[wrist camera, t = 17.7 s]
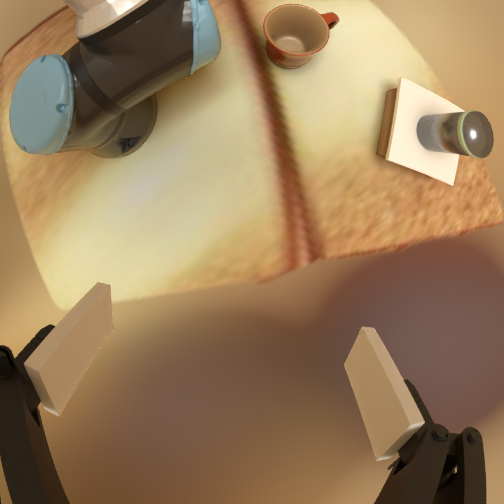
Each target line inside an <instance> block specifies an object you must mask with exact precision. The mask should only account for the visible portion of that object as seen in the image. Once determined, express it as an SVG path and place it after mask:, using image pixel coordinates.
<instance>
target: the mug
mask: <svg viewBox="0 0 504 504" xmlns="http://www.w3.org/2000/svg"><path fill="white" fill-rule="evenodd" d="M338 22H339V17H338V16H337V15H336V14H335V13H333V12H330V13H326V14H319V13H318V12H317V11H315V10H314V9H312V8H309V7H307V6H303V5H299V4H286V5H281V6H278V7H276V8H274V9H273V10H271V11H270V12H269V13H268V15H267V16H266V18H265V20H264V25H263V28H264V33H265V35H266V37H267V41H266V50H267V54H268V56H269V57H270V59H271V60H272V61H273V62H274V63H275V64H277V65H279V66H281V67H284V68H297V67H300V66H302V65H304V64H305V63H307V62H308V61H309V60H310V59H311V57H312V55H313V54H314V53H316V52H318V51H320V50H321V49H322V48H323V47H324V46H325V45H326V43H327V42H328V39H329V30H330V29H332V28H333V27H334V26H335V25H336V24H337V23H338Z"/></svg>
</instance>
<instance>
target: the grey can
mask: <svg viewBox="0 0 504 504" xmlns="http://www.w3.org/2000/svg"><path fill="white" fill-rule="evenodd" d="M416 132H417V137H418V140H419V142H420V144H421V145H422V146H423V147H424V148H425V149H426V150H428V151H432V152H442V153H451V154H459V155H466V156H471V157H475V158H484V157H486V156H488V155H489V154H490V152H491V150H492V147H493V131H492V128H491V125H490V123H489V121H488V119H487V118H486V117H485V115H483V114H482V113H481V112H478V111H465V112H454V113H442V114H432V115H425V116H423V117H421V118H420V119H419V121H418V123H417V128H416Z"/></svg>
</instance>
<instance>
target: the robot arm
mask: <svg viewBox="0 0 504 504" xmlns="http://www.w3.org/2000/svg"><path fill="white" fill-rule="evenodd" d="M63 1H64V2H65V3H66V4H67V5H68V6H69V7H70V8H71V9H72V10H73V11H74V12H75V13H76V15H77V19H76V24H75V29H74V35H75V36H76V37H77V38H78V39H79V40H80V41H79V42H78V43H76V44H75V45H74V46H73V47H71V48H70V49H69V50H68V51H67V52H65V53H64V54H63V55H62V56H61V55H58V54H50V55H44V56H41V57H39V58H37V59H35V60H34V61H33V62H32V63H30V64H29V65H28V67H27V68H26V69H25V70H24V72H23V73H22V74H21V76H20V78H19V80H18V82H17V84H16V86H15V88H14V92H13V95H12V100H11V105H10V112H9V120H10V128H11V132H12V135H13V138H14V140H15V142H16V143H17V145H18V146H19V147H20V148H21V149H22V150H23V151H25V152H27V153H30V154H43V155H51V154H54V153H59V152H68V151H77V150H88V151H89V152H91V153H92V154H94V155H96V156H99V157H103V158H117V157H122V156H126V155H128V154H130V153H132V152H134V151H135V150H137V149H138V148H139V147H140V146H141V145H142V144H143V143H144V142H145V141H146V140H147V138H148V137H149V135H150V133H151V132H152V129H153V127H154V124H155V121H156V116H157V102H156V98H155V95H154V93H156V92H157V91H159V90H161V89H162V88H164V87H166V86H168V85H169V84H171V83H173V82H175V81H177V80H178V79H180V78H182V77H184V76H186V75H187V76H189V75H191V74H192V73H194V72H195V70H197V69H199V68H201V67H203V66H204V65H206V64H208V63H210V62H212V61H213V60H215V59H216V58H217V56H218V54H219V53H220V50H221V39H220V33H219V29H218V25H217V21H216V18H215V15H214V12H213V10H212V7H211V5H210V4H209V3H208V0H63ZM113 329H114V326H113V317H112V303H111V288H110V285H107V284H103V283H99V282H98V283H97V284H96V285H95V286H94V287H93V288H92V289H91V290H90V291H89V292H88V293H87V294H86V295H85V296H84V297H83V298H82V299H81V300H80V301H79V302H78V303H77V304H76V305H75V306H74V307H73V308H72V309H71V310H70V311H69V312H68V313H67V315H66V316H65V317H64V318H63V319H62V320H61V321H60V322H59V323H58V324H57V325H56V326H53V325H51V324H50V325H48V326H46V327H44V328H42V329H41V330H40V331H39V332H38V333H37V334H36V335H35V337H34V338H33V339H32V340H31V341H30V343H28V344H27V345H26V346H25V348H24V349H23V350H22V351H21V352H20V353H19V354H18V356H17V357H16V358H14V356H13V354H12V351H11V350H10V349H9V347H6V346H4V345H0V456H1V462H2V466H3V471H4V475H5V479H6V482H7V486H8V490H9V493H10V496H11V500H12V503H13V504H70V503H69V501H68V498H67V496H66V494H65V492H64V489H63V487H62V484H61V482H60V479H59V476H58V474H57V471H56V468H55V465H54V462H53V459H52V456H51V453H50V450H49V447H48V443H47V440H46V436H45V432H44V429H43V425H42V420H41V416H40V412H39V409H38V405H39V403H40V402H42V404H43V406H44V408H45V410H47V411H49V412H51V413H53V414H55V415H57V416H60V414H61V413H62V411H63V409H64V407H65V405H66V404H67V402H68V400H69V399H70V397H71V395H72V393H73V392H74V390H75V388H76V387H77V385H78V383H79V382H80V380H81V378H82V377H83V375H84V374H85V372H86V370H87V368H88V367H89V366H90V364H91V362H92V361H93V359H94V358H95V356H96V354H97V353H98V351H99V350H100V348H101V347H102V345H103V343H104V342H105V341H106V339H107V338H108V336H109V335H110V333H111V332H112V330H113ZM344 366H345V369H346V372H347V374H348V377H349V380H350V383H351V386H352V388H353V391H354V394H355V397H356V400H357V403H358V406H359V409H360V412H361V414H362V417H363V420H364V423H365V426H366V429H367V432H368V436H369V439H370V442H371V445H372V448H373V451H374V455H375V458H376V461H378V460H384V459H390V458H391V457H392V456H393V455H395V454H396V453H397V452H398V453H399V456H400V457H399V458H398V459H397V460H396V461H394V462H393V463H392V464H391V465H390V466H389V467H388V470H389V469H391V468H392V467H393V468H392V470H391V473H390V475H389V477H388V479H387V481H386V483H385V484H384V486H383V488H382V490H381V492H380V494H379V496H378V497H377V499H376V501H375V503H374V504H486V472H485V459H484V450H483V442H482V437H481V434H480V433H479V431H478V430H476V429H475V428H473V427H467V428H465V429H464V430H463V431H462V432H461V433H460V434H455V433H449V431H448V430H447V429H446V428H445V427H444V426H442V425H440V424H434V422H433V420H432V418H431V416H430V414H429V413H428V411H427V408H426V407H425V405H424V403H423V402H422V399H421V397H420V396H419V394H418V392H417V390H416V388H415V386H414V385H413V384H412V383H411V382H410V381H408V380H403V378H402V377H401V375H400V373H399V371H398V369H397V367H396V366H395V364H394V362H393V360H392V358H391V357H390V355H389V353H388V351H387V350H386V348H385V346H384V344H383V343H382V341H381V339H380V338H379V336H378V334H377V332H376V331H375V329H374V328H370V327H362V328H361V330H360V332H359V334H358V337H357V339H356V341H355V343H354V345H353V348H352V350H351V352H350V354H349V356H348V358H347V360H346V362H345V364H344ZM456 467H457V472H456V473H455V468H456ZM0 504H1V498H0Z"/></svg>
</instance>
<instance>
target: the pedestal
mask: <svg viewBox="0 0 504 504" xmlns="http://www.w3.org/2000/svg"><path fill="white" fill-rule="evenodd" d="M454 112H465V111H464V110H462V109H460V108H459V107H457V106H455V105H454V104H452V103H450V102H449V101H447V100H445V99H443V98H442V97H440V96H438V95H436V94H434V93H433V92H431V91H429V90H427V89H425V88H423V87H421V86H419V85H417V84H415V83H413V82H411V81H409V80H407V79H404V78H402V77H401V78H399V79H398V87H397V88H396V89H393V90H390V91H388V92H387V97H386V103H385V110H384V116H383V122H382V128H381V133H380V138H379V144H378V149H377V154H378V155H381V156H384V157H386V159H385V160H388V161H391V162H393V163H396V164H399V165H402V166H404V167H407V168H410V169H412V170H415V171H418V172H420V173H423V174H425V175H428V176H430V177H432V178H435V179H437V180H440V181H442V182H444V183H447V184H449V185H452V186H453V183H454V179H455V174H456V169H457V164H458V158H459V154H451V153H442V152H432V151H428V150H426V149H425V148H424V147H423V146H422V145H421V144H420V142H419V140H418V137H417V132H416V128H417V123H418V121H419V119H420V118H421V117H423V116H425V115H432V114H442V113H454Z"/></svg>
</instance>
